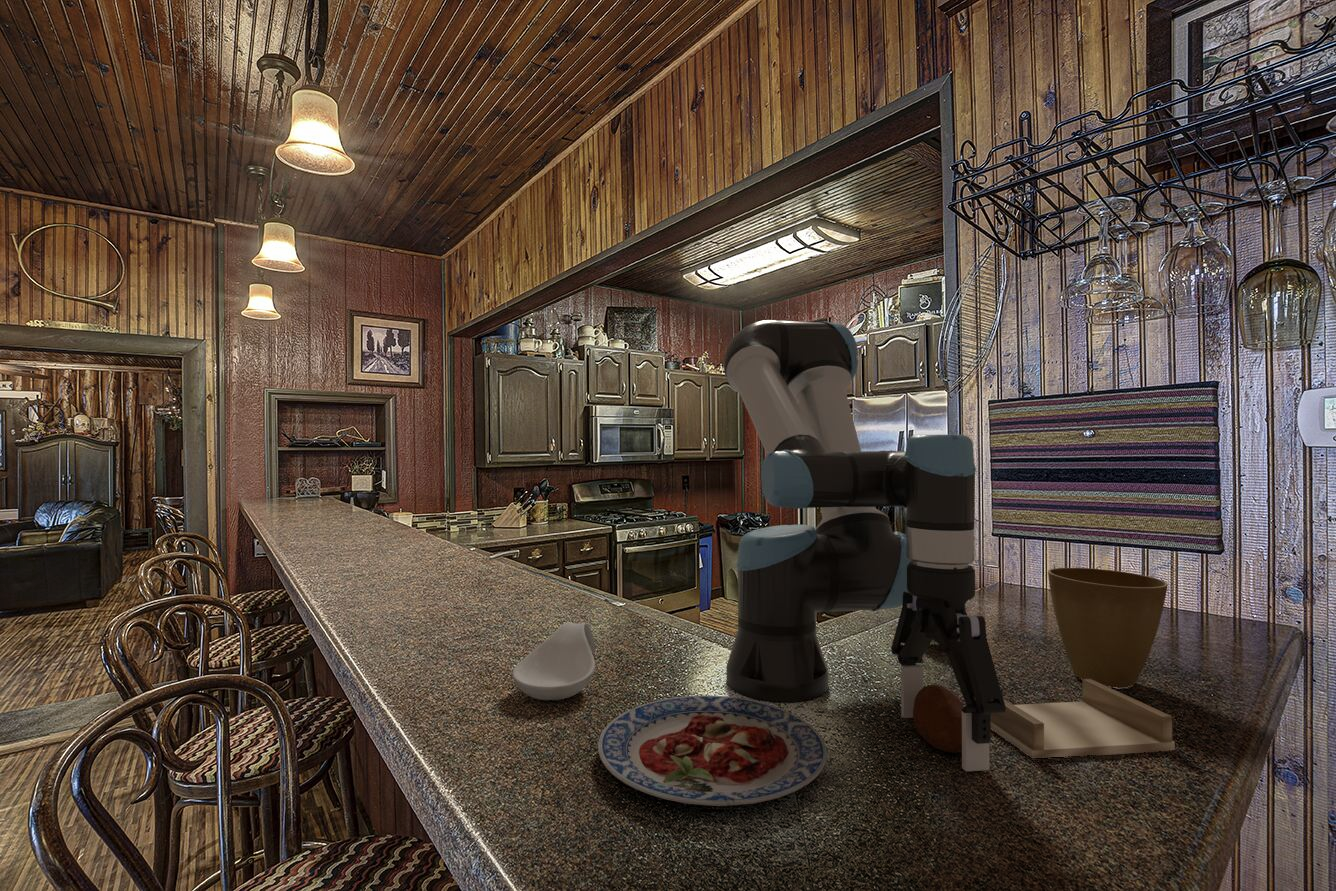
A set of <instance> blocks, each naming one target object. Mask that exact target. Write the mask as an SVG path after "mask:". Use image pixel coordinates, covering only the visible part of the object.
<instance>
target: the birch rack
mask: <svg viewBox="0 0 1336 891" xmlns="http://www.w3.org/2000/svg"><path fill="white" fill-rule="evenodd" d="M1081 682H1082V683H1081V684H1082V701H1066V702H1046V703H1045V702H1044V703H1028V704H1027V703H1026V704H1025V703H1023V704H1013V703H1011V702H1009V701H1008V700H1006V699H1005V698H1003V699H1004V703H1005V707H1006V711H1005V712H1004V713H992V714H991V717H990V722H991V728H992V729H993V730H994V731H996V732H997V733H998V734H1000V735H1001V736H1002V737H1004V738H1005V739H1006V740H1008V741H1009V742H1011V743H1012V744H1014V745H1015V746H1016V747H1017V748H1019V749H1021V750H1022V751H1023V752H1025V753H1026V754H1028V755H1029V756H1030V757H1032V758H1040V757H1041V758H1043V757H1044V758H1045V757H1064V758H1072V757H1071V756H1080V757H1088V756H1087V755H1090V756H1089V757H1092V756H1091V755H1094V756H1095V755H1096V756H1111V755H1123V754H1124V755H1125V754H1127V755H1129V754H1139V753H1140V754H1142V753H1143V754H1144V752H1145V753H1159V751H1161V752H1173V751H1172V750H1175V746H1176V745H1175V741H1174V740H1173V716H1172V715H1170V714H1168V713H1165V712H1163V711H1162V710H1159V709H1157V708H1155V707H1152V706H1150V705H1148V704H1146V703H1144V702H1142V701H1139V700H1137V699H1135V698H1134V697H1131V696H1129V695H1126V694H1124V693H1122V692H1120V691H1117V689H1111V688H1109V687H1107V686H1105V685H1103V684H1101V683H1098V682H1096V681H1094V680H1092V679H1082V681H1081ZM974 699H975V697H974ZM992 700H993V699H992ZM1169 750H1170V751H1169ZM1084 755H1085V756H1084ZM1065 756H1066V757H1065ZM1068 756H1070V757H1068ZM1096 756H1095V757H1096Z"/></svg>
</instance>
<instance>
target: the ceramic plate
mask: <svg viewBox="0 0 1336 891" xmlns="http://www.w3.org/2000/svg"><path fill="white" fill-rule="evenodd" d="M597 744H598V745H597V746H598V749H597V750H598V754H599V759H600V760H601V763H602V764H603V765H604V767H605V769H606V770H608V771H609V772H610V774H612V775H613V776H614V777H615V778H617V779H618V780H620V781H621V782H623V783H624V784H625V785H627V786H629V787H631V788H633V789H635V790H637V791H640V792H643V793H645V794H647V795H651V796H653V797H656V798H659V799H662V800H663V799H664V800H668V801H674V802H677V803H682V804H691V805H699V806H700V805H701V806H702V805H703V806H711V807H712V806H714V807H715V806H717V807H724V806H725V807H726V806H739V805H750V804H751V805H752V804H757V803H763V802H766V801H771V800H776V799H779V798H782V797H784V796H787V795H789V794H793V793H794V792H797V791H799V790H800V789H802V788H804V787H805V786H808V785H809V784H810V783H811V782H812V781H814V780H815V779H817V777H818V776H819V775H820V773H822V771H823V769H824V767H825V765H826V761H827V756H828V752H827V745H826V743H825V741H824V739H823V737H822V736H821V734H820V733H819V732H818V730H816V729H815V728H814V727H813V725H811V723H808V722H807V721H805V720H803V719H802V718H801V717H800V716H797V715H796V714H794V713H792V712H789V711H787V710H785V709H782V708H780V707H778V706H775V705H772V704H768V703H765V702H763V701H756V700H752V699H747V698H741V697H734V696H733V697H732V696H726V695H724V696H723V695H685V696H678V697H677V696H675V697H669V698H664V699H659V700H654V701H650V702H647V703H644V704H641V705H638V706H636V707H633V708H631V709H628V710H626V711H624V712H623V713H621V714H619V715H618V716H616V717H615V718H614V719H613V720H611V721H610V722H609V723H608V724H607V725H606V726H605V727H604V729H603V730H602V731H601V733H600V736H599V738H598V743H597Z"/></svg>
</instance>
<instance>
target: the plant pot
mask: <svg viewBox="0 0 1336 891" xmlns="http://www.w3.org/2000/svg"><path fill="white" fill-rule="evenodd" d="M1047 575H1048V583H1049V590H1050V596H1051V602H1052V607H1053V612H1054V615H1055V619H1056V623H1057V627H1058V632H1059V634H1060V637H1061V641H1062V645H1063V647H1064V651H1065V654H1066V656H1067V659H1068V662H1069V664H1070V667H1071V669H1072V672H1073V674H1074V676H1075V675H1077V676H1078V677H1080V678H1082V679H1092V680H1094V681H1096V682H1098V683H1101V684H1103V685H1105V686H1111V687H1128V686H1131V685H1134V684H1136V683H1137V681H1138V679H1139V677H1140V675H1141V672H1142V671H1143V670H1144V669H1143V668H1144V667H1145V664H1146V662H1147V660H1148V657H1149V655H1150V653H1151V649H1152V647H1153V645H1154V642H1155V639H1156V636H1157V633H1158V630H1159V627H1160V623H1161V618H1162V614H1163V610H1164V606H1165V600H1166V597H1167V596H1166V595H1167V590H1168V585H1169V584H1168V582H1166V581H1164V580H1162V579H1160V578H1156V577H1154V576H1153V577H1152V576H1149V575H1148V576H1147V575H1144V574H1138V573H1132V572H1127V571H1121V570H1120V571H1119V570H1113V569H1102V568H1101V569H1100V568H1090V567H1089V568H1088V567H1056V568H1049V569H1048V570H1047ZM1134 686H1135V685H1134Z"/></svg>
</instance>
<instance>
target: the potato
mask: <svg viewBox="0 0 1336 891" xmlns="http://www.w3.org/2000/svg"><path fill="white" fill-rule="evenodd" d="M963 707H965V706H964V704H963V703H962V701H961V699H960V697H959V696H958V695H956V694H955V693H953V692H952V691H951V690H950V689H948V688H947V687H945V686H942V685H938V684H928V685H926V686H925V685H924V687H923V688H922V689H921V690H920V691H919V692H918V693H917V695H916V697H915V700H914V706H913V720H912V721H913V724H914V728H915V729H916V730H917V732H918V733H919V735H920V736H921V737H922V739H923V740H925V741H926V743H928V744H930V745H931V746H932V747H933V748H935V749H936V750H938V751H939V750H940V751H943V752H946V753H953V754H958V753H962V710H961V709H962V708H963Z"/></svg>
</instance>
